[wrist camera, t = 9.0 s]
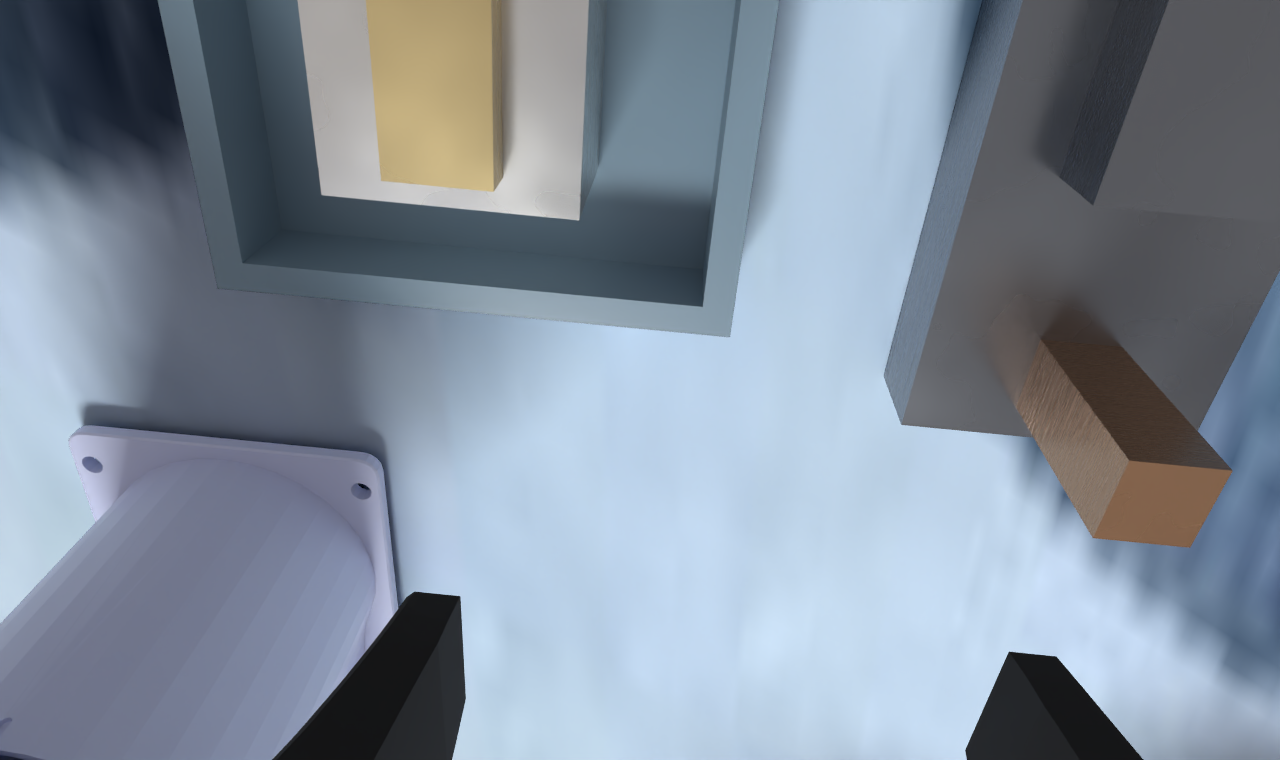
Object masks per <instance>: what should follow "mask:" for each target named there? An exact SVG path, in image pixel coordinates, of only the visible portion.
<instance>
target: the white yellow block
mask: <svg viewBox="0 0 1280 760" xmlns="http://www.w3.org/2000/svg"><path fill="white" fill-rule="evenodd" d="M297 1H298V9H299V17H300V25H301V33H302V41H303V49H304V57H305V65H306V73H307V82H308V90H309V98H310V106H311V114H312V122H313V130H314V138H315V146H316V154H317V162H318V171H319V179H320V187H321V195H325V196H336V197H346V198H356V199H366V200H376V201H387V202H397V203H407V204H417V205H427V206H438V207H448V208H458V209H468V210H478V211H488V212H499V213H509V214H519V215H529V216H539V217H550V218H560V219H570V220H580V217H581V215H582V212H583V209H584V206H585V203H586V201H587V198H588V195H589V192H590V189H591V187H592V184H593V181H594V178H595V175H596V173H597V170H598V164H599V145H600V127H601V108H602V89H603V70H604V52H605V33H606V14H607V0H297Z"/></svg>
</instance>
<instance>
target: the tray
mask: <svg viewBox="0 0 1280 760" xmlns="http://www.w3.org/2000/svg"><path fill="white" fill-rule="evenodd" d="M158 4H159V9H160V14H161V18H162V23H163V28H164V33H165V38H166V42H167V47H168V52H169V57H170V62H171V66H172V71H173V76H174V81H175V86H176V90H177V95H178V100H179V105H180V110H181V115H182V119H183V124H184V129H185V134H186V139H187V143H188V148H189V153H190V158H191V163H192V167H193V172H194V177H195V182H196V187H197V191H198V196H199V201H200V206H201V211H202V216H203V220H204V225H205V230H206V235H207V240H208V244H209V249H210V254H211V259H212V264H213V268H214V273H215V278H216V283H217V288H218V289H229V290H239V291H250V292H260V293H271V294H281V295H292V296H302V297H313V298H323V299H334V300H344V301H355V302H365V303H376V304H386V305H397V306H407V307H418V308H428V309H439V310H449V311H460V312H470V313H481V314H491V315H502V316H512V317H523V318H533V319H544V320H554V321H564V322H575V323H585V324H596V325H606V326H617V327H627V328H638V329H648V330H659V331H669V332H680V333H690V334H701V335H711V336H722V337H730V332H731V326H732V319H733V312H734V305H735V298H736V292H737V285H738V278H739V271H740V264H741V258H742V251H743V244H744V237H745V230H746V224H747V217H748V210H749V203H750V196H751V190H752V183H753V176H754V169H755V162H756V156H757V149H758V142H759V135H760V129H761V122H762V115H763V108H764V101H765V95H766V88H767V81H768V74H769V67H770V61H771V54H772V47H773V40H774V33H775V27H776V20H777V13H778V6H779V0H607V14H606V33H605V52H604V70H603V89H602V108H601V127H600V145H599V164H598V170H597V173H596V175H595V178H594V181H593V184H592V187H591V189H590V192H589V195H588V198H587V201H586V203H585V206H584V209H583V212H582V215H581V217H580V220H570V219H560V218H550V217H539V216H529V215H519V214H509V213H499V212H488V211H478V210H468V209H458V208H448V207H438V206H427V205H417V204H407V203H397V202H387V201H376V200H366V199H356V198H346V197H336V196H325V195H321V187H320V179H319V171H318V162H317V154H316V146H315V138H314V130H313V122H312V114H311V106H310V98H309V90H308V82H307V73H306V65H305V57H304V49H303V41H302V33H301V25H300V17H299V9H298V1H297V0H158Z"/></svg>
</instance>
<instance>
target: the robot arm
mask: <svg viewBox="0 0 1280 760" xmlns="http://www.w3.org/2000/svg"><path fill="white" fill-rule="evenodd" d="M69 447H70V450H71V453H72V456H73V459H74V461H75V464H76V467H77V470H78V473H79V476H80V479H81V482H82V484H83V487H84V490H85V493H86V496H87V499H88V502H89V505H90V508H91V510H92V513H93V516H94V519H95V522H96V523H95V524H94V525H93V526H92V527H91V528H90V529H89V530H88V531H87V532H86V533H85V534H84V535H83V536H82V538H81V539H80V540H79V541H78V542H77V543H76V544H75V545H74V546H73V547H72V548H71V549H70V550H69V551H68V552H67V553H66V555H65V556H64V557H63V558H62V559H61V560H60V561H59V562H58V563H57V564H56V565H55V566H54V567H53V568H52V569H51V571H50V572H49V573H48V574H47V575H46V576H45V577H44V578H43V579H42V580H41V581H40V582H39V583H38V584H37V585H36V586H35V588H34V589H33V590H32V591H31V592H30V593H29V594H28V595H27V596H26V597H25V598H24V599H23V600H22V601H21V602H20V604H19V605H18V606H17V607H16V608H15V609H14V610H13V611H12V612H11V613H10V614H9V615H8V616H7V617H6V618H5V619H4V621H3V622H2V623H1V624H0V760H452V757H453V753H454V748H455V744H456V740H457V735H458V731H459V726H460V722H461V717H462V713H463V708H464V704H465V699H466V695H465V676H464V658H463V639H462V620H461V601H460V596H452V595H442V594H432V593H422V592H414V593H412V594H411V595H409V596H408V597H406V599H405V600H404V602H403V603H402V604H401V606H400V607H399V608H398V601H397V592H396V583H395V573H394V564H393V555H392V546H391V536H390V527H389V518H388V509H387V499H386V490H385V481H384V472H383V467H382V464H381V463H380V462H379V460H378V459H377V458H376V457H374V456H372V455H371V454H368V453H364V452H357V451H347V450H337V449H327V448H317V447H307V446H296V445H286V444H276V443H266V442H256V441H246V440H235V439H225V438H215V437H205V436H195V435H185V434H174V433H164V432H154V431H144V430H134V429H124V428H113V427H103V426H93V425H87V426H82V427H81V428H79V429H78V430H76V431H75V432H74V433H73V434H72V435H71V436H70V438H69ZM94 458H96V459H97V460H99V461H100V462H101V463H100V462H98V461H97V460H95V459H94ZM358 483H361V484H364V485H366V486H368V487H369V488H370V490H366V489H363V488H361V487H360V486H359V485H358ZM965 751H966V757H967V760H1143V759H1142V758H1141V756H1140V755H1139V754H1138V753H1137V752H1136V750H1135V749H1134V748H1133V747H1132V746H1131V745H1130V743H1129V742H1128V741H1127V740H1126V739H1125V737H1124V736H1123V735H1122V734H1121V733H1120V732H1119V730H1118V729H1117V728H1116V727H1115V726H1114V724H1113V723H1112V722H1111V721H1110V720H1109V718H1108V717H1107V716H1106V715H1105V714H1104V713H1103V711H1102V710H1101V709H1100V708H1099V707H1098V705H1097V704H1096V703H1095V702H1094V701H1093V699H1092V698H1091V697H1090V696H1089V695H1088V693H1087V692H1086V691H1085V690H1084V689H1083V687H1082V686H1081V685H1080V684H1079V683H1078V682H1077V680H1076V679H1075V678H1074V677H1073V676H1072V674H1071V673H1070V672H1069V671H1068V670H1067V669H1066V667H1065V666H1064V665H1063V664H1062V663H1061V662H1060V660H1059V659H1058V658H1057V657H1055V656H1045V655H1035V654H1026V653H1016V652H1009V653H1008V655H1007V657H1006V660H1005V662H1004V664H1003V666H1002V669H1001V671H1000V673H999V675H998V678H997V680H996V682H995V684H994V687H993V689H992V691H991V693H990V696H989V698H988V700H987V702H986V705H985V707H984V709H983V711H982V714H981V716H980V718H979V721H978V723H977V725H976V727H975V730H974V732H973V734H972V736H971V739H970V741H969V743H968V745H967V748H966V750H965Z"/></svg>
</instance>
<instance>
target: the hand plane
mask: <svg viewBox="0 0 1280 760" xmlns="http://www.w3.org/2000/svg"><path fill="white" fill-rule="evenodd" d="M1279 271H1280V0H983V2H982V5H981V9H980V13H979V17H978V21H977V24H976V28H975V32H974V36H973V40H972V43H971V47H970V51H969V55H968V59H967V62H966V66H965V70H964V74H963V78H962V81H961V85H960V89H959V93H958V97H957V100H956V104H955V108H954V112H953V116H952V119H951V123H950V127H949V131H948V135H947V138H946V142H945V146H944V150H943V154H942V157H941V161H940V165H939V169H938V173H937V176H936V180H935V184H934V188H933V192H932V195H931V199H930V203H929V207H928V211H927V214H926V218H925V222H924V226H923V230H922V233H921V237H920V241H919V245H918V249H917V252H916V256H915V260H914V264H913V267H912V271H911V275H910V279H909V283H908V286H907V290H906V294H905V298H904V302H903V305H902V309H901V313H900V317H899V321H898V324H897V328H896V332H895V336H894V340H893V343H892V347H891V351H890V355H889V359H888V362H887V366H886V370H885V374H884V378H885V381H886V384H887V387H888V389H889V392H890V395H891V398H892V400H893V403H894V406H895V409H896V411H897V414H898V417H899V420H900V422H901V425H910V426H920V427H930V428H941V429H951V430H961V431H972V432H982V433H992V434H1003V435H1013V436H1023V437H1034V439H1035V441H1036V442H1037V444H1038V446H1039V447H1040V449H1041V451H1042V452H1043V454H1044V456H1045V458H1046V459H1047V461H1048V463H1049V464H1050V466H1051V468H1052V469H1053V471H1054V473H1055V475H1056V476H1057V478H1058V480H1059V481H1060V483H1061V485H1062V486H1063V488H1064V490H1065V491H1066V493H1067V495H1068V497H1069V498H1070V500H1071V502H1072V503H1073V505H1074V507H1075V508H1076V510H1077V512H1078V513H1079V515H1080V517H1081V519H1082V520H1083V522H1084V524H1085V525H1086V527H1087V529H1088V530H1089V532H1090V534H1091V536H1092V537H1093V538H1098V539H1108V540H1119V541H1129V542H1139V543H1149V544H1159V545H1169V546H1179V547H1191V545H1192V543H1193V541H1194V539H1195V538H1196V536H1197V534H1198V532H1199V530H1200V529H1201V527H1202V525H1203V523H1204V521H1205V520H1206V518H1207V516H1208V514H1209V512H1210V511H1211V509H1212V507H1213V505H1214V503H1215V502H1216V500H1217V498H1218V496H1219V494H1220V493H1221V491H1222V489H1223V487H1224V485H1225V484H1226V482H1227V480H1228V478H1229V476H1230V475H1231V473H1232V469H1231V468H1230V467H1229V466H1228V465H1227V464H1226V463H1225V462H1224V461H1223V459H1222V458H1221V457H1220V456H1219V455H1218V454H1217V453H1216V452H1215V450H1214V449H1213V448H1212V447H1211V446H1210V445H1209V444H1208V443H1207V441H1206V440H1205V439H1204V438H1203V437H1202V436H1201V435H1200V434H1199V432H1198V429H1199V427H1200V425H1201V423H1202V421H1203V419H1204V417H1205V415H1206V413H1207V411H1208V409H1209V407H1210V405H1211V404H1212V402H1213V400H1214V398H1215V396H1216V394H1217V392H1218V390H1219V388H1220V386H1221V384H1222V382H1223V380H1224V378H1225V376H1226V374H1227V372H1228V370H1229V368H1230V366H1231V364H1232V362H1233V361H1234V359H1235V357H1236V355H1237V353H1238V351H1239V349H1240V347H1241V345H1242V343H1243V341H1244V339H1245V337H1246V335H1247V333H1248V331H1249V329H1250V327H1251V325H1252V323H1253V321H1254V320H1255V318H1256V316H1257V314H1258V312H1259V310H1260V308H1261V306H1262V304H1263V302H1264V300H1265V298H1266V296H1267V294H1268V292H1269V290H1270V288H1271V286H1272V284H1273V282H1274V280H1275V278H1276V277H1277V275H1278V273H1279Z"/></svg>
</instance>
